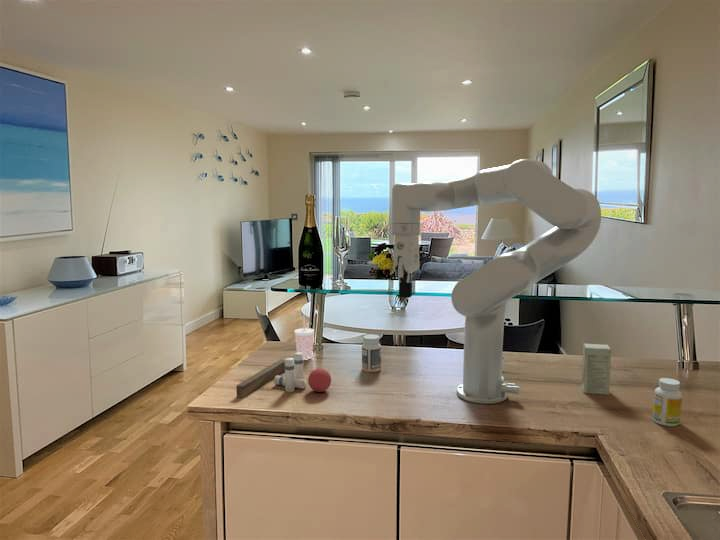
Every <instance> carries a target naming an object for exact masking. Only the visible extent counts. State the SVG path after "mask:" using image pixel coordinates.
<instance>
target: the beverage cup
mask: <svg viewBox="0 0 720 540" xmlns="http://www.w3.org/2000/svg"><path fill="white" fill-rule="evenodd" d="M305 317H306V315H305V314H303V317H302V321H303V322H302V323H303V325H302V326H303V328H302V327H301V328H297V329H294V330H293V331H294V332H293V333H294V335H295V345H296V353H297V352H301V353H303V360H308V359H311V358H312V359H313V350H314V349H313V347H314V334H315V329H314V328H310V327H306V318H305ZM312 359H311V360H312ZM308 361H309V360H308Z"/></svg>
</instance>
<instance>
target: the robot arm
mask: <svg viewBox="0 0 720 540" xmlns="http://www.w3.org/2000/svg"><path fill="white" fill-rule="evenodd" d="M391 188H392V190H391V191H392V192H391V193H392V194H391V200H392V201H391V235H392V236H394V241H393V257H392V261H393V262H392V263H393V264H392V265H393V266H392V267H393V271H394V272H395V273H397V278H398V297H399V298H411V297H412V295H413V282H412V281H413V273H415V272H417V270H419V269H420V265H421V264H420V240H419V236H421V212H426V213H427V212H428V213H429V212H438V211H439V212H440V211H448V210H456V209H462V208H469V207H476V206H483V207H484V206H490V205H497V204H502V203H511V202H516V201H517V202H519V203H521V204H522V205H523V206H525V207H526V208H528V209H529V210H530V211H532V212H533V213H535V214H536V215H538V217H540V218H542V219H543V220H544V221H546V222H547V223H549V224H551V226H552V225H553V226H554V227H552V228H550V229H549V230H547V231H546V232H544V233H543V234H541V235H540V236H538V237H536V238H535V239H534V240H532V241H530V242H529V243H528V244H527V243H526V245H524V246H521V247H520V248H518V249H515V250H512V251H508V252H505V253H502V254H499V255H498V256H496V257H495V258H493V259H491V260H489V261H488V262H486V263H485V264H484V265H482V266H480V267H478V268H477V269H475V270H474V271H473V272H471V273H469V274H468V275H467V276H466V275H465V277H463V278H461V279H460V280H459V281H458V282H456V283H455V286H454V287H453V289H452V292H451V296H450V297H451V304H452V306H453V308H454V310H455V311H456V312H457V313H458V314H459V315H461V316H463V317H465V319H464V331H463V332H464V336H463V338H464V339H463V366H462V367H463V371H462V375H463V377H462V383H461V384H459V385H458V386H457V387H456V394H457V396H458V397H460V398H461V399H462V400H464V401H467V402H470V403H475V404H480V405H481V404H483V405H490V404H491V405H493V404H498V403H501V402H504V401H505V400H507V398H508V393H509V394H513V395H520V386H518V385H516V383H512V382H507V381H504V380H505V379H504V378H505V377H504V376H503V374H502V372H503V371H502V370H503V350H504V349H503V347H504V346H503V345H504V330H505V329H504V327H505V326H504V325H505V316H506V310H507V303H508V301H509V300H511V299H512V298H514V297H516V296H518V295H519V294H521V293H523V292H525V291H526V290H529V289H530V288H532V287H533V286H535V285H536V284H537V283H538V282H539V281H541V280H542V279H544V278H546V277H547V276H549V275H551V274H552V273H555V272H556V271H557V270H559V269H561V268H562V267H564V266H566V265H567V264H568V263H570V262H572V261H573V260H574V259H576V258H577V257H579V256H580V255H581V254H583V252H585V251H586V250H587V249H588V248H589V247H590V246H591V245H592V243H593V242H594V240H595V239H596V237H597V236H598V233H599V231H600V227H601V221H602V209H601V205H600V202H599V200H598V198H597V197H596V195H595V194H593V193H592V192H590V191H589V190H586V189H584V188H574V187H572V186H571V185H569V184H567V183H566V182H564V181H563V180H561V179H559V178H557V177H556V176H555V175H553V172H552V169H551V168H550V166H549V165H548V164H547V163H545V162H543V161H541V160H536V159H532V158H522V159H518V160H515V161H513V162H512V163H511V164H507V165H502V166H498V167H491V168H486V169H482V170H479V171H478V172H477V173H476V174H475V175H474V174H473V175H472V176H470V177H465V178H462V179H455V180H449V181H423V182H417V183H415V182H414V183H411V182H401V183H395V184H394V185H393V186H392V187H391Z"/></svg>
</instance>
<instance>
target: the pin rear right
mask: <svg viewBox="0 0 720 540" xmlns="http://www.w3.org/2000/svg"><path fill="white" fill-rule="evenodd" d="M293 359H294V378H298V379H305V378H304V361H303V353H301V352H297V351H296V352H294V353H293Z"/></svg>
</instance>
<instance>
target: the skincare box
mask: <svg viewBox="0 0 720 540" xmlns="http://www.w3.org/2000/svg"><path fill="white" fill-rule="evenodd" d="M582 345H583V346H582V367H581V368H582V370H581V389H582V392H583V393H584V394H593V395H595V394H596V395H598V394H599V395H610V389H611V388H610V385H611V381H610V380H611V364H612V363H611V358H612V356H611V355H612V349H611V346H610V345H609V344H604V343H603V344H601V343H600V344H599V343H583V344H582Z"/></svg>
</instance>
